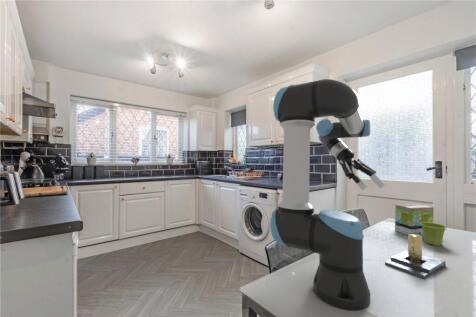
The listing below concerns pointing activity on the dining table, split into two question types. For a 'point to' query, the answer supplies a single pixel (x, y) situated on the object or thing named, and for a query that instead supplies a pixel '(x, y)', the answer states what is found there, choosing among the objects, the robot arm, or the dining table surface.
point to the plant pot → (433, 232)
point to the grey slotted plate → (428, 261)
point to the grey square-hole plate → (410, 269)
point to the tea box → (412, 218)
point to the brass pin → (415, 248)
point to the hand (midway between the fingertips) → (374, 187)
